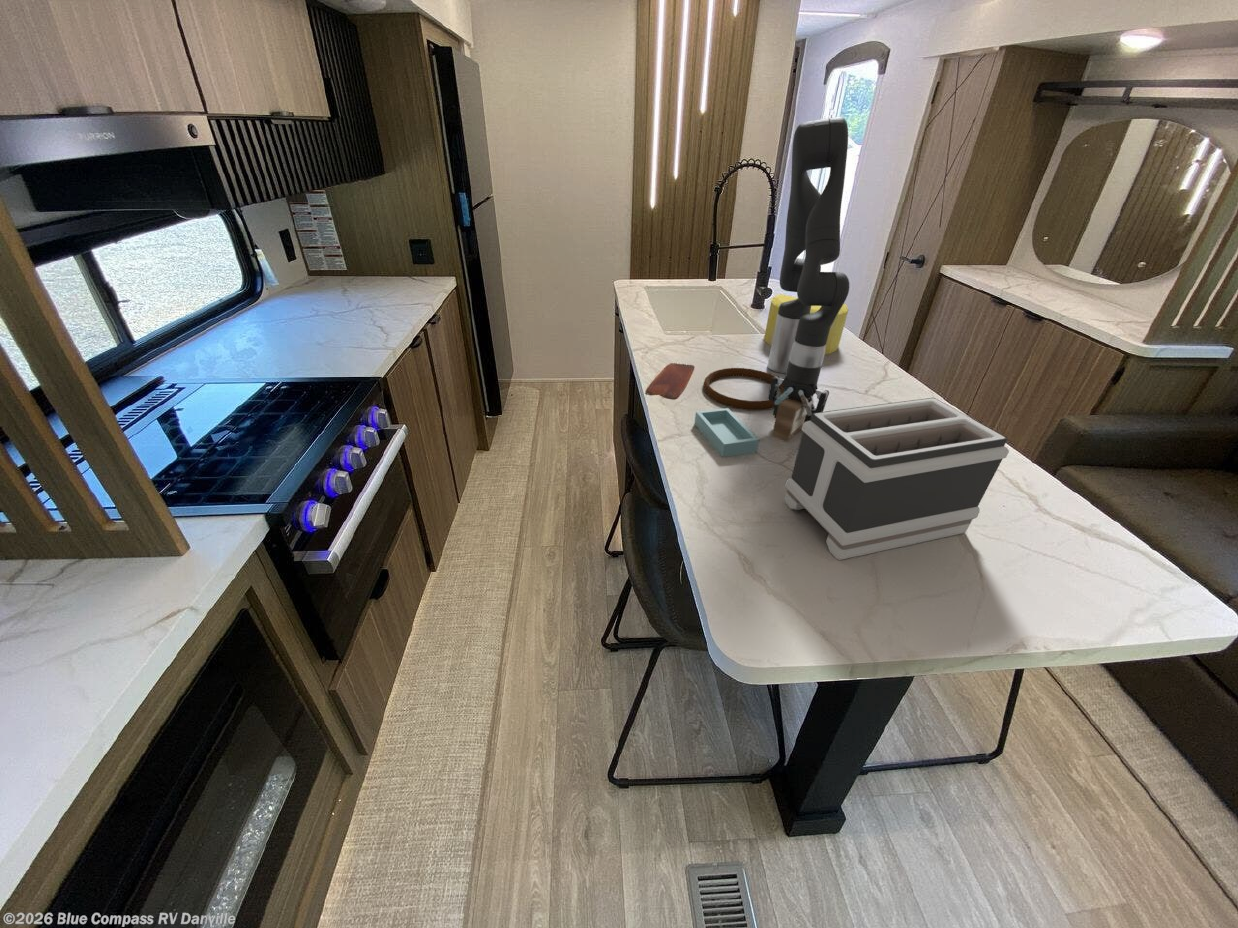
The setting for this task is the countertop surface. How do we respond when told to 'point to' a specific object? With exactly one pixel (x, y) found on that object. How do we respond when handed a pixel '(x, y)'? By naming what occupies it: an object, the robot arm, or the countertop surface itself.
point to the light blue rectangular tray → (726, 432)
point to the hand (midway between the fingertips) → (791, 421)
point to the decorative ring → (736, 402)
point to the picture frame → (788, 419)
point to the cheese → (835, 328)
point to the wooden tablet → (671, 381)
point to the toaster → (893, 474)
